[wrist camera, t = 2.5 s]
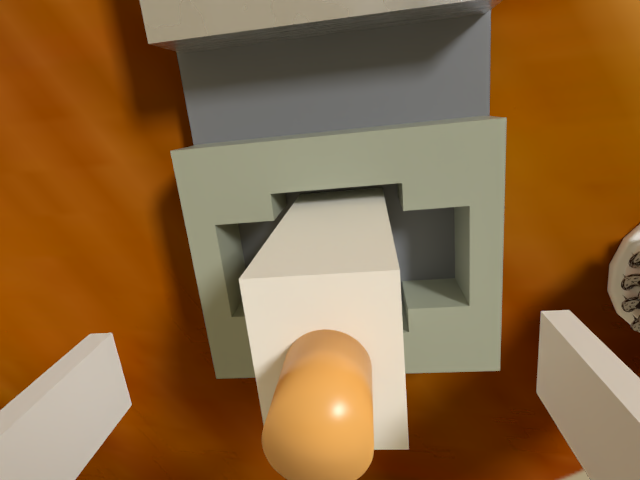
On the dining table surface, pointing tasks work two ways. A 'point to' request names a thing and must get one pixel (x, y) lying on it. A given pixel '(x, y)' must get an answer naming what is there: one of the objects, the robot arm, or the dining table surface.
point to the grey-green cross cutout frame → (353, 171)
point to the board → (347, 107)
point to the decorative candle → (626, 279)
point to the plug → (328, 336)
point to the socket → (284, 19)
